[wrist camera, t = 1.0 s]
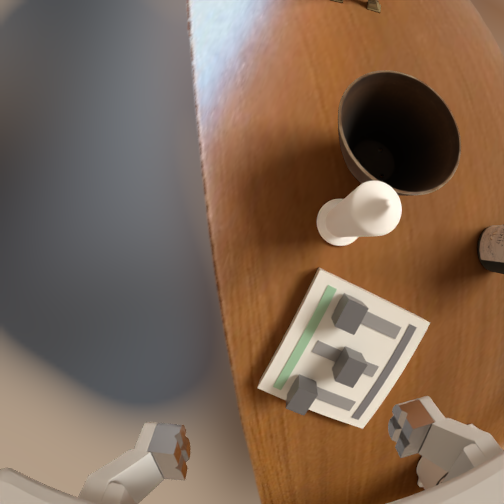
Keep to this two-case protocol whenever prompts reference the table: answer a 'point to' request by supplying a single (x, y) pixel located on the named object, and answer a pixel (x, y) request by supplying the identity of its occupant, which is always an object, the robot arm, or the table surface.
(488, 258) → the wine bottle
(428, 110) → the plant pot
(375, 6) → the eiffel tower
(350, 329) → the handle
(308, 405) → the handle
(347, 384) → the handle
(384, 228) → the candle
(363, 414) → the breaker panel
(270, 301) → the table surface
